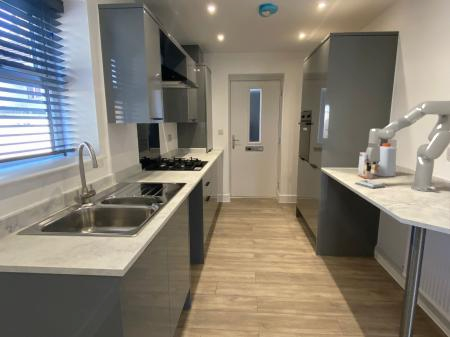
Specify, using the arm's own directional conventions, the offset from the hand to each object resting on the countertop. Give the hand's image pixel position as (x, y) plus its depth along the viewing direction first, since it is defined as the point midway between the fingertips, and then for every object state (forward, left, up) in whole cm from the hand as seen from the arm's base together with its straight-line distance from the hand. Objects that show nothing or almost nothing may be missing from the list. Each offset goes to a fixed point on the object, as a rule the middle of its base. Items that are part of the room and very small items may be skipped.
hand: (371, 170), depth 189 cm
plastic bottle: (+25, -43, -12) cm, 51 cm away
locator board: (0, 0, -11) cm, 11 cm away
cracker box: (+23, -20, -12) cm, 33 cm away
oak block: (0, 0, -1) cm, 1 cm away
